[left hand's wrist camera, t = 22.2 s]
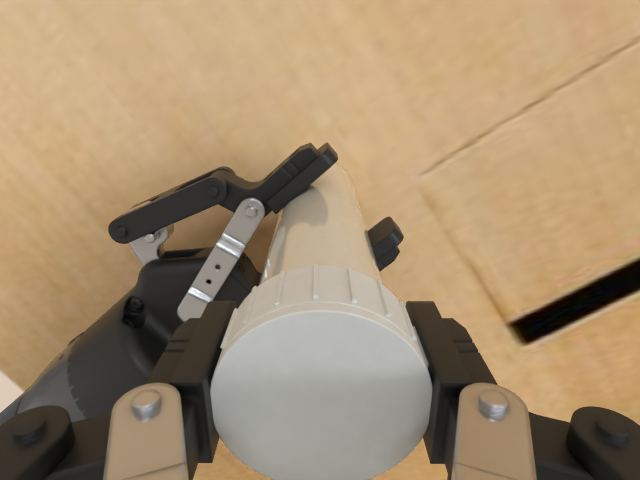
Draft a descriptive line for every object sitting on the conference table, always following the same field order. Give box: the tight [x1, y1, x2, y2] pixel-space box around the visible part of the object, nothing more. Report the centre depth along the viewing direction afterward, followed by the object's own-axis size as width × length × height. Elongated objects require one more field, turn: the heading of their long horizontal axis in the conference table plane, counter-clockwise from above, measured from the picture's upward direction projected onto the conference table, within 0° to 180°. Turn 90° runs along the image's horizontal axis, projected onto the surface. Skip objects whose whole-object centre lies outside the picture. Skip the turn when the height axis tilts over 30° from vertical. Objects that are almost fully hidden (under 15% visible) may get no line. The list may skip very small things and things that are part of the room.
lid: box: [210, 264, 433, 480], centre depth 10 cm, size 5×5×2 cm
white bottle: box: [258, 163, 383, 286], centre depth 18 cm, size 4×4×18 cm
